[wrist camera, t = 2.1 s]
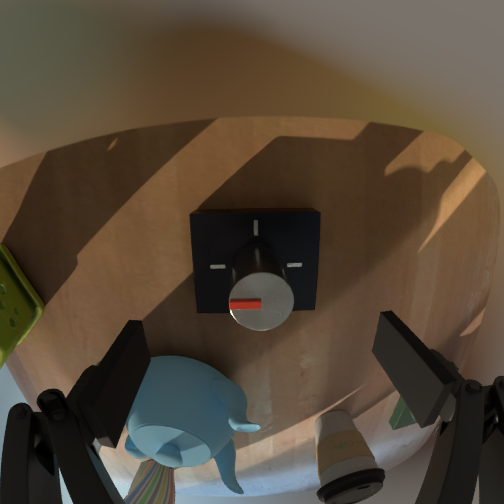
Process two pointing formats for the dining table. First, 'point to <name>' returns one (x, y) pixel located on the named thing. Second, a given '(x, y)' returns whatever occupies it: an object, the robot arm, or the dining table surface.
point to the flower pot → (15, 305)
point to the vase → (152, 485)
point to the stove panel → (246, 232)
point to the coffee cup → (344, 461)
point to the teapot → (187, 416)
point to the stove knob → (259, 288)
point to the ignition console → (404, 413)
